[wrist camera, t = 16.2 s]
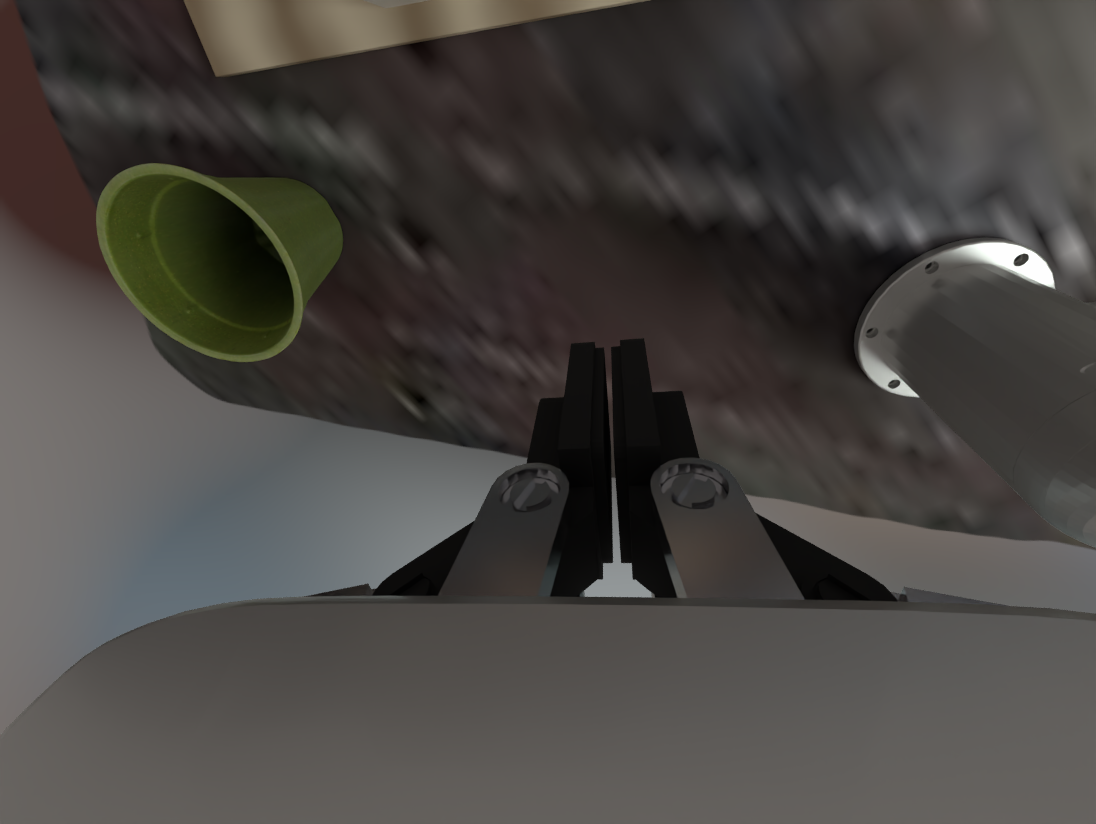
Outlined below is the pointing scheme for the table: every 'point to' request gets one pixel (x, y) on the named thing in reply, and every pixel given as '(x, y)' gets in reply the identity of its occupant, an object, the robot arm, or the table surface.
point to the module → (393, 2)
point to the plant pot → (217, 255)
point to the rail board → (349, 26)
